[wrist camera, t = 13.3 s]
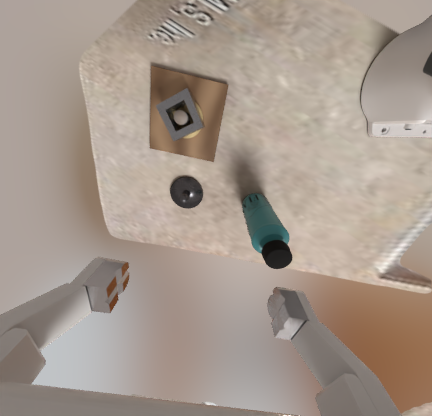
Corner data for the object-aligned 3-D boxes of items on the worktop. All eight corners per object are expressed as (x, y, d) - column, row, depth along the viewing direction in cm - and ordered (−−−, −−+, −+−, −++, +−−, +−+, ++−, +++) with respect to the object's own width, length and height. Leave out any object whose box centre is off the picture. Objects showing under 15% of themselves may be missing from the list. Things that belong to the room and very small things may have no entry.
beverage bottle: (255, 184, 38) (285, 233, 20) (272, 202, 40) (312, 261, 22) (235, 201, 41) (246, 259, 23) (251, 218, 43) (273, 282, 25)
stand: (205, 180, 38) (203, 187, 34) (200, 209, 42) (197, 219, 37) (172, 173, 38) (166, 179, 33) (170, 203, 41) (163, 212, 37)
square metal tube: (191, 93, 29) (187, 87, 25) (205, 127, 31) (203, 126, 28) (163, 108, 30) (155, 105, 26) (178, 140, 32) (173, 141, 29)
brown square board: (228, 86, 30) (229, 77, 25) (213, 160, 36) (212, 166, 31) (153, 67, 29) (138, 54, 24) (152, 147, 35) (139, 150, 30)
